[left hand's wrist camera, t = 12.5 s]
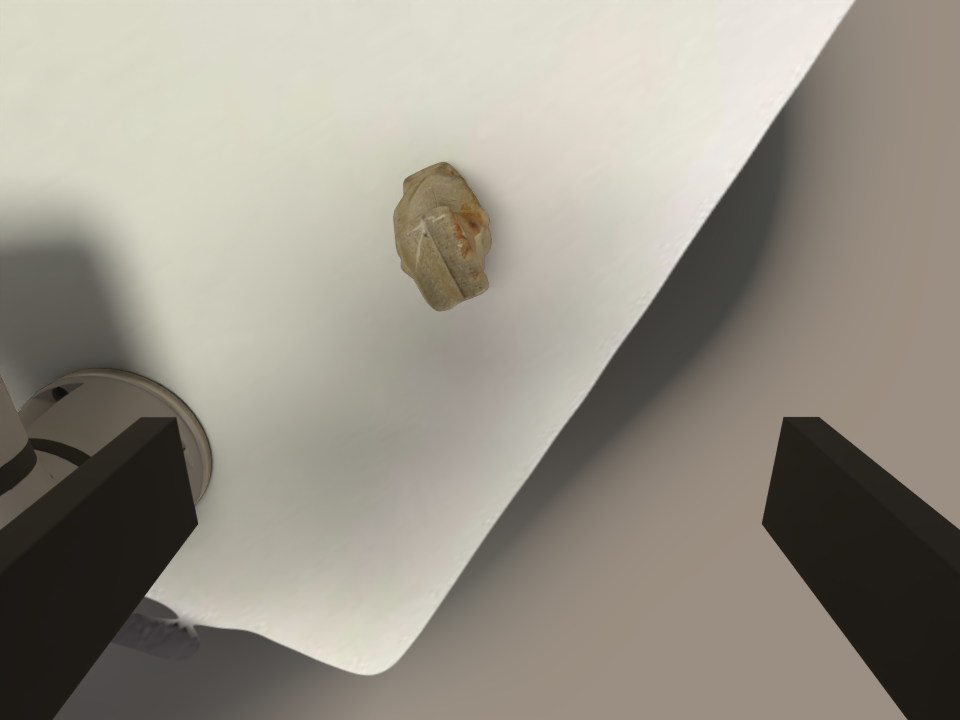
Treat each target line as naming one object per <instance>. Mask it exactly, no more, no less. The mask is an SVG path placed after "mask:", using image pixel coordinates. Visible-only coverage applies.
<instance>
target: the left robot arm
mask: <svg viewBox="0 0 960 720" xmlns="http://www.w3.org/2000/svg"><path fill="white" fill-rule="evenodd" d="M210 473H211V455H210V449H209V445H208V442H207V439H206V436H205V434H204V432H203V430H202V428H201V426H200V424H199V422H198V421H197V419H196V418H195V417H194V415H193V414H192V413H191V411H190V410H189V409H188V408H187V407H186V406H185V405H184V404H183V403H182V402H181V401H180V400H179V399H178V398H177V397H176V396H174V395H173V394H172V393H171V392H169V391H168V390H166V389H165V388H163V387H162V386H160V385H158V384H157V383H155V382H153V381H151V380H149V379H147V378H144V377H142V376H139V375H136V374H133V373H130V372H126V371H121V370H115V369H102V368H100V369H87V370H81V371H77V372H73V373H71V374H68V375H66V376H64V377H61V378H59V379H58V380H56V381H54V382H52V383H50V384H49V385H47V386H45V387H44V388H42V389H41V390H39V391H38V392H37V393H36V394H35V395H34V396H33V397H32V398H31V399H29V400H28V401H27V402H26V404H25V405H24V406H23V407H22V409H21V410H20V411H19V413H17V411H16V409H15V407H14V405H13V402H12V400H11V398H10V396H9V393H8V391H7V389H6V387H5V385H4V382H3V380H2V378H1V376H0V720H53V718H54V717H55V715H56V714H57V713H58V712H59V710H60V709H61V707H62V706H63V705H64V703H65V702H66V701H67V699H68V698H69V697H70V695H71V694H72V693H73V691H74V690H75V689H76V687H77V686H78V685H79V683H80V682H81V681H82V679H83V678H84V677H85V675H86V674H87V673H88V671H89V670H90V669H91V667H92V666H93V664H94V663H95V662H96V661H97V659H98V658H99V656H100V655H101V654H102V652H103V651H104V650H105V648H106V647H107V646H108V644H109V643H110V642H111V640H112V639H113V638H114V636H115V635H116V634H117V632H118V631H119V630H120V628H121V627H122V626H123V624H124V623H125V622H126V620H127V619H128V618H129V616H130V615H131V613H132V612H133V611H134V609H135V608H136V607H137V605H138V604H139V603H140V601H141V600H142V599H143V597H144V596H145V595H146V593H147V592H148V591H149V589H150V588H151V587H152V585H153V584H154V583H155V581H156V580H157V579H158V577H159V576H160V575H161V573H162V572H163V571H164V569H165V568H166V566H167V565H168V564H169V562H170V561H171V560H172V558H173V557H174V556H175V554H176V553H177V552H178V550H179V549H180V548H181V546H182V545H183V544H184V542H185V541H186V540H187V538H188V537H189V536H190V534H191V533H192V532H193V530H194V529H195V528H196V526H197V525H198V521H197V516H196V511H195V505H196V503H197V502H198V501H199V500H200V498H201V497H202V495H203V493H204V492H205V490H206V488H207V485H208V482H209V478H210ZM762 525H763V526H764V528H765V529H766V530H767V532H768V533H769V534H770V536H771V537H772V538H773V540H774V541H775V542H776V544H777V545H778V546H779V548H780V549H781V550H782V552H783V553H784V554H785V556H786V557H787V558H788V560H789V561H790V562H791V564H792V565H793V566H794V568H795V569H796V571H797V572H798V573H799V575H800V576H801V577H802V579H803V580H804V581H805V583H806V584H807V585H808V587H809V588H810V589H811V591H812V592H813V593H814V595H815V596H816V597H817V599H818V600H819V601H820V603H821V604H822V605H823V607H824V608H825V609H826V611H827V612H828V613H829V615H830V616H831V618H832V619H833V620H834V622H835V623H836V624H837V626H838V627H839V628H840V630H841V631H842V632H843V634H844V635H845V636H846V638H847V639H848V640H849V642H850V643H851V644H852V646H853V647H854V648H855V650H856V651H857V652H858V654H859V655H860V656H861V658H862V659H863V661H864V662H865V663H866V665H867V666H868V667H869V669H870V670H871V671H872V672H873V674H874V675H875V677H876V678H877V679H878V681H879V682H880V683H881V685H882V686H883V687H884V689H885V690H886V691H887V693H888V694H889V695H890V697H891V698H892V699H893V701H894V702H895V703H896V705H897V706H898V708H899V709H900V710H901V712H902V713H903V714H904V716H905V717H906V718H907V720H960V530H959V529H958V528H957V527H956V526H954V525H953V524H952V523H951V522H949V521H948V520H947V519H946V518H944V517H943V516H942V515H941V514H939V513H938V512H937V511H936V510H934V509H933V508H932V507H931V506H929V505H928V504H927V503H926V502H924V501H923V500H922V499H921V498H919V497H918V496H917V495H916V494H914V493H913V492H912V491H911V490H909V489H908V488H907V487H906V486H904V485H903V484H902V483H901V482H899V481H898V480H897V479H896V478H894V477H893V476H892V475H891V474H889V473H888V472H887V471H886V470H884V469H883V468H882V467H881V466H879V465H878V464H877V463H876V462H874V461H873V460H872V459H871V458H869V457H868V456H867V455H866V454H864V453H863V452H862V451H861V450H859V449H858V448H857V447H856V446H854V445H853V444H852V443H851V442H849V441H848V440H847V439H846V438H844V437H843V436H842V435H841V434H839V433H838V432H837V431H836V430H834V429H833V428H832V427H831V426H830V425H828V424H827V423H826V422H825V421H823V420H822V419H821V418H820V417H784V418H783V422H782V427H781V432H780V437H779V442H778V447H777V452H776V457H775V461H774V466H773V471H772V476H771V481H770V486H769V491H768V496H767V501H766V506H765V511H764V516H763V521H762Z"/></svg>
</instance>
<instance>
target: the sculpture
mask: <svg viewBox="0 0 960 720" xmlns="http://www.w3.org/2000/svg"><path fill="white" fill-rule="evenodd" d="M403 189H404V196H403V197H402V199H401V201H400V202H399V204H398V205H397V207H396V209H395V211H394V216H393V218H394V231H395V242H396V248H397V252H398V255H399V257H400V259H401V268H402V270H403V271H404V272H405V273H406V274H408V275H409V276H410V277H412V278H413V279H414V281H415V282H416V284H417V286H418V288H419V290H420V292H421V294H422V295H423V297H424V299H425V300H426V302H427V303H428V304H429V305H430V306H431V307H432V308H433V309H435V310H436V311H445V310H449V309H452V308H453V307H454V306H456V305H457V304H458V303H460V302H462V301H465V300H467V299H470V298H473V297H476V296H478V295H480V294H482V293H483V292H485V291H486V290H487V289H488V287H489V283H488V280H487V277H486V275H485V272H484V256H485V255H486V254H487V253H488V251H489V250H490V247H491V235H490V231H489V228H488V226H489V222H490V220H489V217H488V215H487V214H486V212H485V211H484V210H483V208H482V207H481V205H480V204H479V202H478V200H477V198H476V197H475V195H474V194H473V192H472V190H471V189H470V187H469V186H468V184H467V183H466V181H465V179H464V178H463V177H461V175H460V174H459V173H458V172H457V171H456V170H455V169H454V168H453V167H452V166H451V165H450V164H448V163H447V162H441V163H438V164H435V165H432V166H430V167H427V168H425V169H423V170H421V171H419V172H417V173H415V174H413V175H411V176H409V177H407V178H406V179H405V180H404V183H403Z"/></svg>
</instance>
